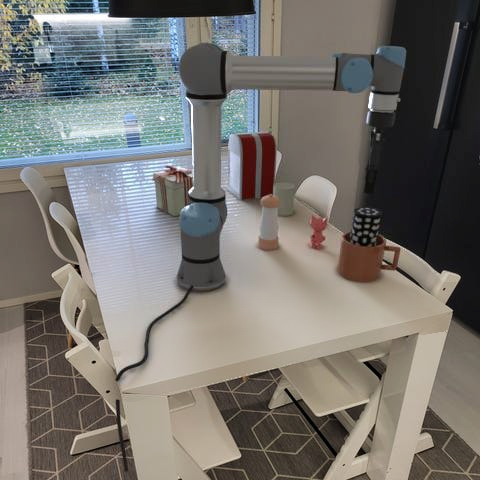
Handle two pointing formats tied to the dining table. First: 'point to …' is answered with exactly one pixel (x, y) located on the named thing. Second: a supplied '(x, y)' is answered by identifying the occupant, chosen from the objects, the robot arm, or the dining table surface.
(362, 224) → the white-spotted black cylinder
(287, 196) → the can
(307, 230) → the dining table surface
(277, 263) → the dining table surface
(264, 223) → the pepper shaker
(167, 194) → the gift box
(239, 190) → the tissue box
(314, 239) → the cat figurine
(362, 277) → the terracotta coffee mug
